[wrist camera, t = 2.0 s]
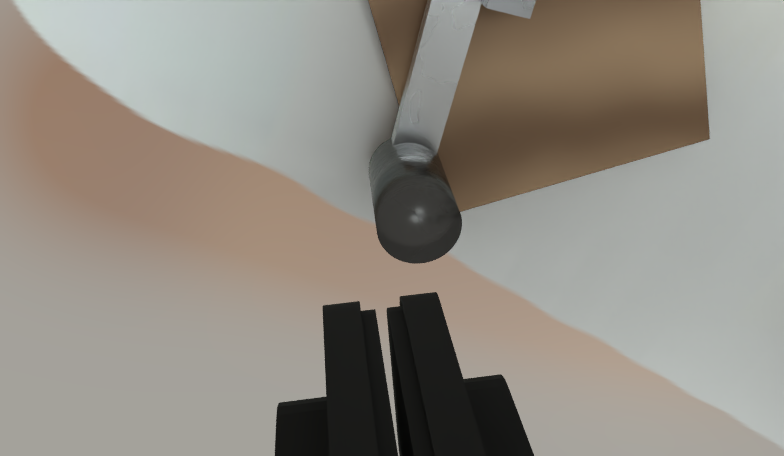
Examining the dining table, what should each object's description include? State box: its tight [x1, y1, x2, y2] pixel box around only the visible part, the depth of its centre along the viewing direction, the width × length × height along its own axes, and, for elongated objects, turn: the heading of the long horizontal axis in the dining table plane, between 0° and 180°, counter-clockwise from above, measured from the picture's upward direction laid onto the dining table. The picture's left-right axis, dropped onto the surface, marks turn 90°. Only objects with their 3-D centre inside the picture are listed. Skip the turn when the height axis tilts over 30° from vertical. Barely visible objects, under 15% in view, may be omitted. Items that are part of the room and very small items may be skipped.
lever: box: [369, 0, 536, 263], centre depth 24 cm, size 15×4×5 cm, turn 166°
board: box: [368, 0, 710, 212], centre depth 26 cm, size 16×12×6 cm
